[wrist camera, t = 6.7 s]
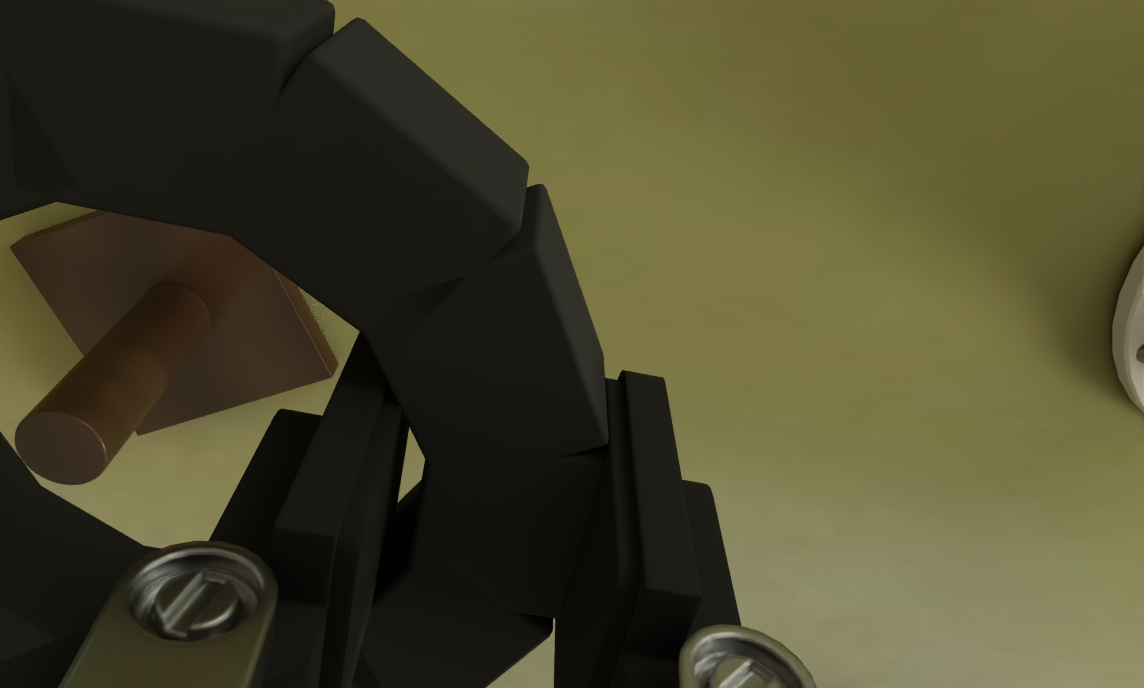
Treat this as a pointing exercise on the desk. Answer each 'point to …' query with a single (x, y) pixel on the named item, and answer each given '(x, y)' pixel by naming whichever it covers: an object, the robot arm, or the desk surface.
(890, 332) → the desk surface
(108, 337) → the peg stand
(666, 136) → the desk surface
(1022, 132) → the desk surface
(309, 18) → the charcoal ring
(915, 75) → the desk surface
